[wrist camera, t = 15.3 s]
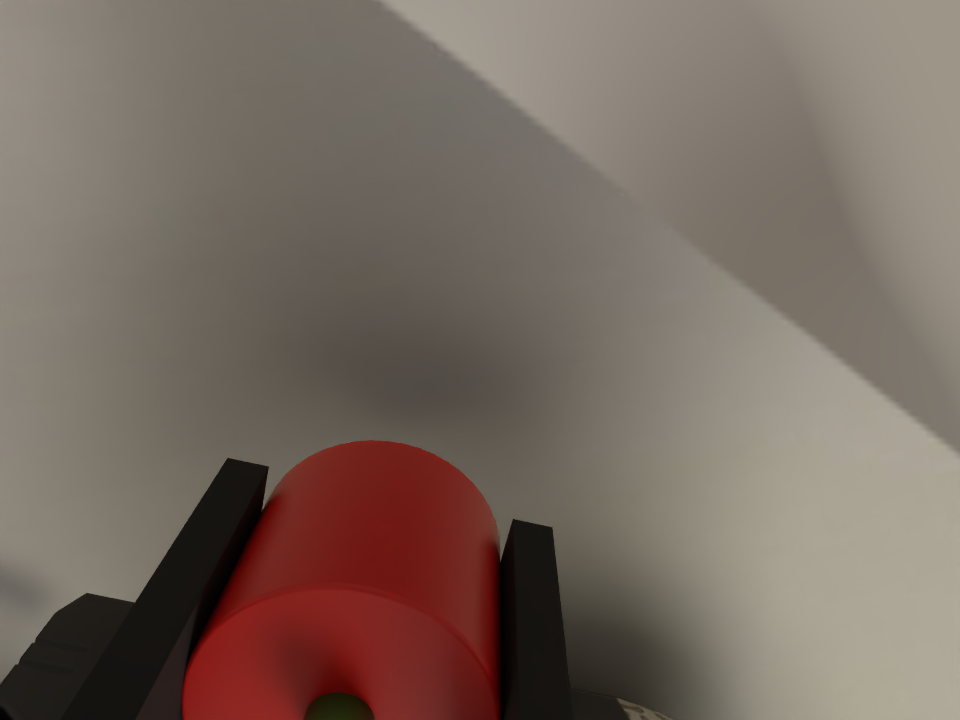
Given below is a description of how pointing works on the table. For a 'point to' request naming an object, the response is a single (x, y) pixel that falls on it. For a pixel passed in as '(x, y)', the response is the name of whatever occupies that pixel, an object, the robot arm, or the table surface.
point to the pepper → (358, 598)
